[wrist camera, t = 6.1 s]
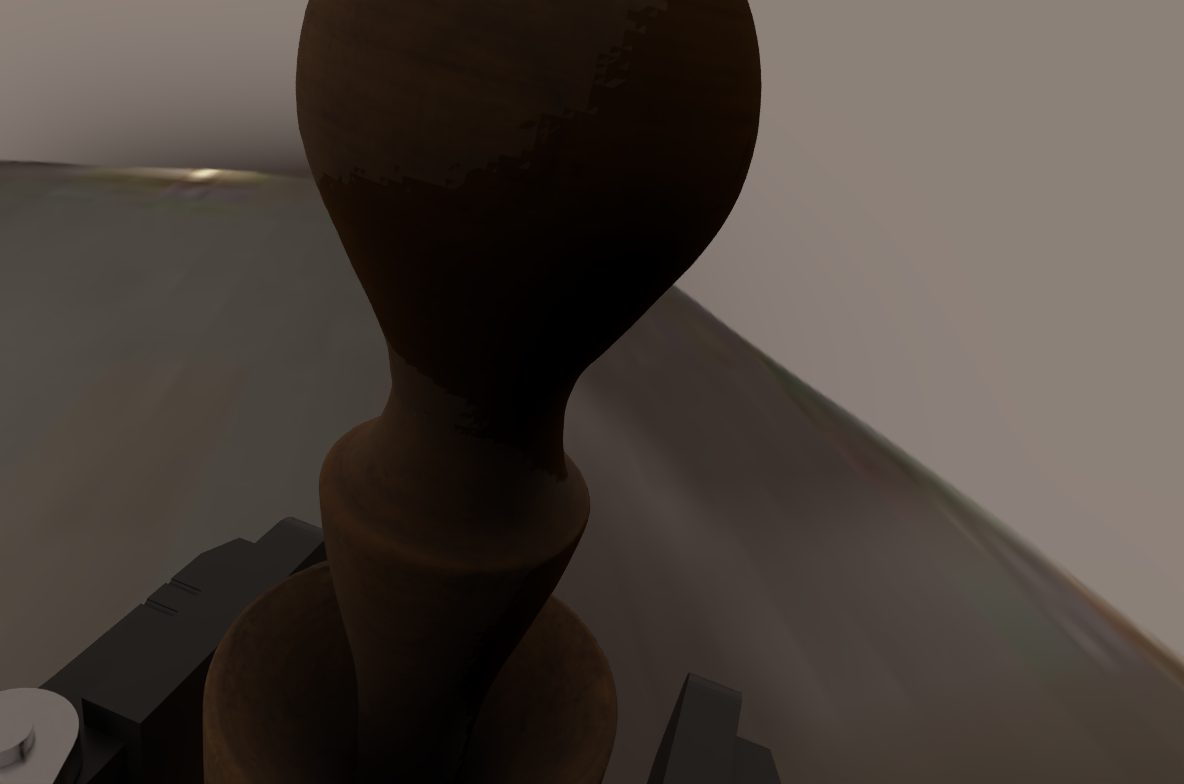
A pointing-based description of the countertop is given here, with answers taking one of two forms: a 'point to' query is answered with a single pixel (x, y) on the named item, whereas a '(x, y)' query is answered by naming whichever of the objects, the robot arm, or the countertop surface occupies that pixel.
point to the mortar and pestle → (478, 372)
